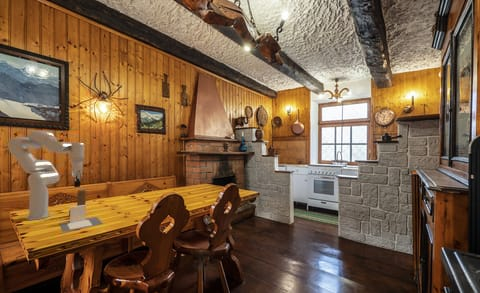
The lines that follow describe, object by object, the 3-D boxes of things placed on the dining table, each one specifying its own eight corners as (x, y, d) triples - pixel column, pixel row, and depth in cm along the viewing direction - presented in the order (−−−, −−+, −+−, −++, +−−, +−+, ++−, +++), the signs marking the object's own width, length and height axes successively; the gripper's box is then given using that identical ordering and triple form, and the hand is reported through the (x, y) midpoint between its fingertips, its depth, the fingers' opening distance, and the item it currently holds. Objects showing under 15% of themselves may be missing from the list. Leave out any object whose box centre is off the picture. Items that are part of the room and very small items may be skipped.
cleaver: (69, 217, 147) (70, 191, 148) (69, 216, 151) (69, 190, 151) (85, 215, 153) (86, 190, 154) (84, 213, 157) (85, 189, 157)
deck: (69, 222, 136) (70, 206, 136) (84, 219, 142) (85, 204, 142) (70, 223, 134) (70, 207, 135) (85, 220, 140) (85, 205, 140)
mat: (59, 224, 134) (59, 223, 134) (96, 217, 148) (96, 216, 148) (62, 233, 120) (62, 231, 120) (103, 224, 134) (103, 223, 134)
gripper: (69, 160, 148) (68, 186, 148) (72, 160, 137) (71, 189, 137) (82, 160, 153) (82, 185, 153) (86, 160, 143) (85, 187, 142)
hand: (77, 186), depth 145 cm, fingers closed
